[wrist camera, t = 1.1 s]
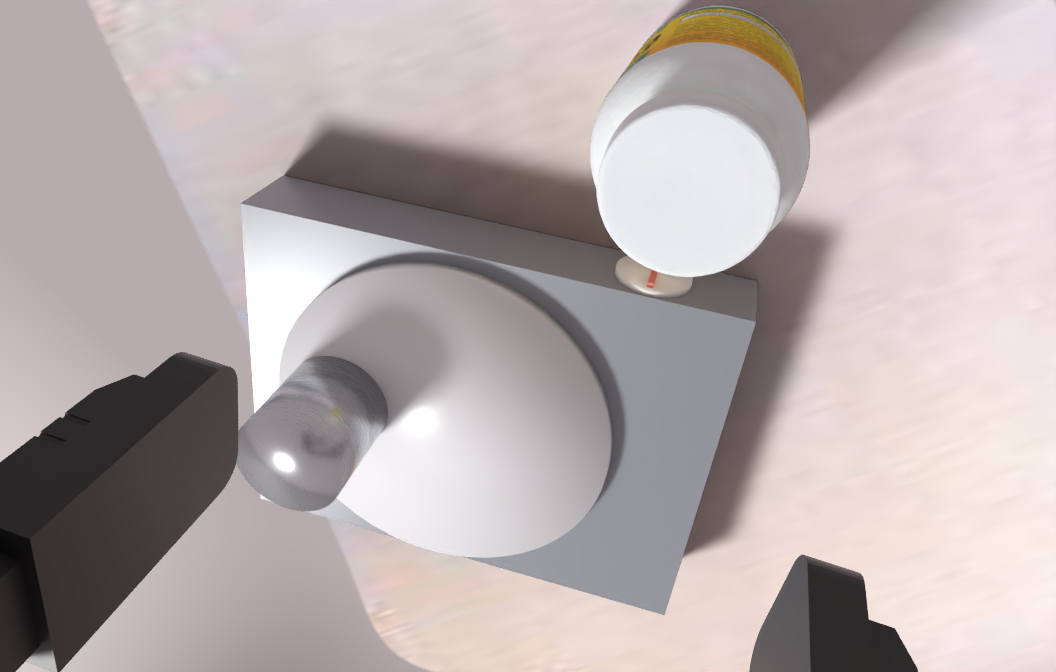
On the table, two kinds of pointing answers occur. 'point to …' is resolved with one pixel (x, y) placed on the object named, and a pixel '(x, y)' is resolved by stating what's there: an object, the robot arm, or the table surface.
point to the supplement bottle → (701, 142)
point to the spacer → (312, 433)
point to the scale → (504, 381)
